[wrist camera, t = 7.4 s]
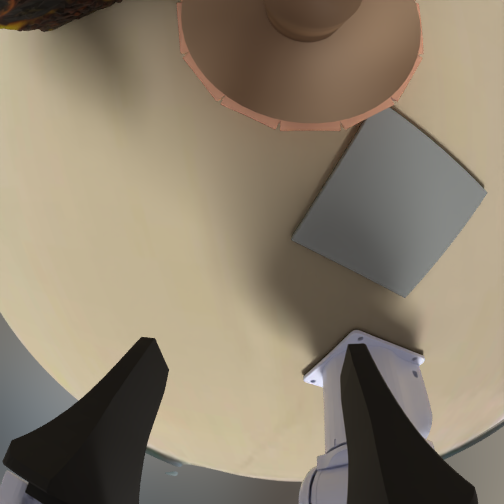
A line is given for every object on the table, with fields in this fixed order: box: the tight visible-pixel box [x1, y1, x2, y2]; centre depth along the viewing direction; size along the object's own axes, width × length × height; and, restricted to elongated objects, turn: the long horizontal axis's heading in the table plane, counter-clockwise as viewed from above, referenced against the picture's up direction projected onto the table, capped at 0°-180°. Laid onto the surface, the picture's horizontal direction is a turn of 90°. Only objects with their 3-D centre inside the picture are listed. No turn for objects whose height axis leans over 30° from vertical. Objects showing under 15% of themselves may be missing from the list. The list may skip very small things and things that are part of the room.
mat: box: [291, 107, 487, 298], centre depth 17 cm, size 10×10×1 cm
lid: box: [181, 0, 421, 123], centre depth 8 cm, size 10×10×5 cm
